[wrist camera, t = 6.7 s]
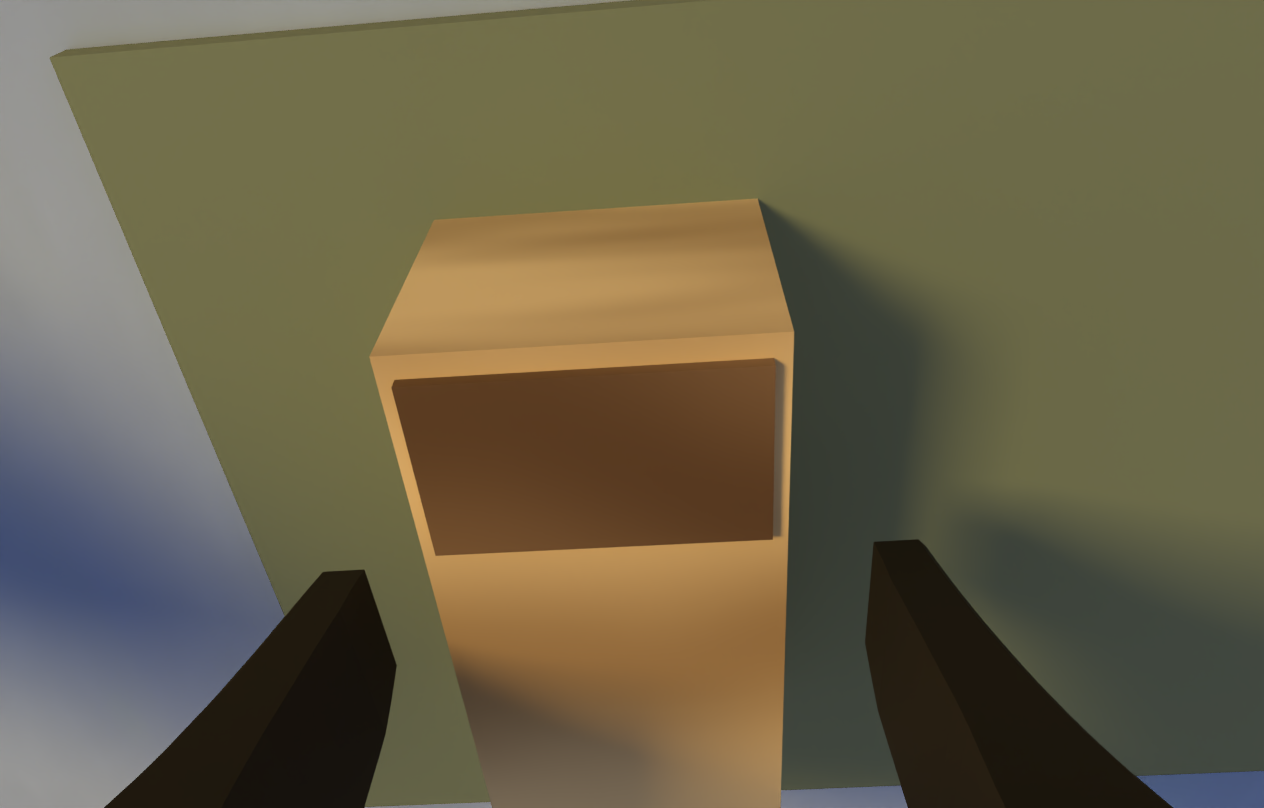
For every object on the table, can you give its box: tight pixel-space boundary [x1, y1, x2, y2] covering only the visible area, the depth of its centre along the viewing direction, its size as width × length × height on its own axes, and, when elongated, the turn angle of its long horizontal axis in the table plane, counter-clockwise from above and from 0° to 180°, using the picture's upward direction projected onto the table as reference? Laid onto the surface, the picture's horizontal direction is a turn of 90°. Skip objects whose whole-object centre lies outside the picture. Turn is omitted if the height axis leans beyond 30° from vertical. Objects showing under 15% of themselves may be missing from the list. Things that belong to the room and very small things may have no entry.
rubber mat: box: [50, 0, 1264, 807], centre depth 15 cm, size 24×16×1 cm, turn 95°
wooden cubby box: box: [369, 198, 794, 808], centre depth 14 cm, size 10×4×4 cm, turn 4°
